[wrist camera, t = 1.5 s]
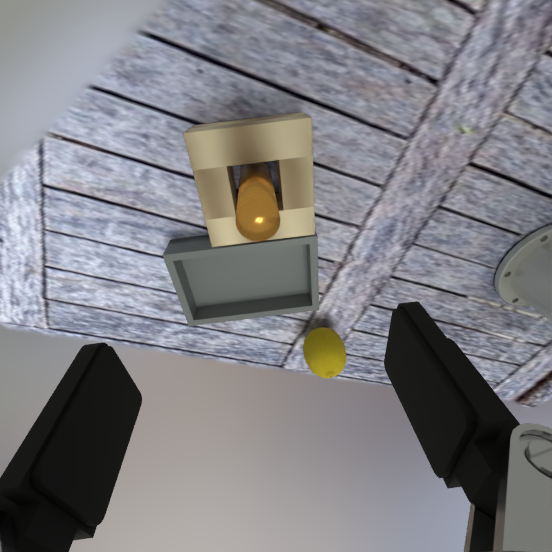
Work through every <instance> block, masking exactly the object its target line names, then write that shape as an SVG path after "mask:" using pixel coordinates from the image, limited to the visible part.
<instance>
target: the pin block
mask: <svg viewBox="0 0 552 552" xmlns="http://www.w3.org/2000/svg"><path fill="white" fill-rule="evenodd" d="M183 134H184V138H185V142H186V146H187V150H188V154H189V158H190V162H191V166H192V170H193V174H194V178H195V181H196V185H197V189H198V193H199V197H200V201H201V205H202V209H203V213H204V217H205V221H206V225H207V229H208V233H209V237H210V241H211V244H212V247H217V246H225V245H233V244H241V243H249V242H257V241H251V240H248V239H246V238H245V237H243V236H242V235H241V234H240V232H239V231H238V229H237V227H236V222H235V221H236V210H237V201H238V196H237V190H236V185H235V179H234V174H233V168H232V166H233V165H242V164H250V163H258V162H266V161H274V160H276V164H277V175H278V185H279V193H275V196H276V201H277V205H278V210H279V214H280V226H279V229H278V231H277V232H276V234H275V235H274V236H273V237H271V238H270V239H268V240H273V239H281V238H290V237H298V236H306V235H314V234H315V219H314V183H313V147H312V117H310V116H308V115H306V114H305V113H303V112H299V113H290V114H282V115H274V116H266V117H258V118H250V119H241V120H233V121H225V122H217V123H209V124H200V125H194V126H192V127H191V128H190V129H188V130H187V131H186V132H184V133H183Z"/></svg>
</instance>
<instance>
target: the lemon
mask: <svg viewBox="0 0 552 552" xmlns="http://www.w3.org/2000/svg"><path fill="white" fill-rule="evenodd" d="M303 351H304V357H305V360H306V363H307V364H308V366H309V368H310V370H311V371H312V372H313V373H314V374H316V375H317V376H319V377H323V378H332V377H335V376H337V375H338V374H339V373H340V372H341V371H342V370H343V368H344V366H345V363H346V351H345V346H344V343H343V341H342V339H341V338H340V336H339V335H338V334H337V333H336V332H335V331H333V330H331V329H329V328H325V327H320V328H316V329H314V330H312V331H311V332H310V333H309V334H308V335H307V337H306V338H305V341H304V345H303Z"/></svg>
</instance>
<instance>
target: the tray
mask: <svg viewBox="0 0 552 552" xmlns="http://www.w3.org/2000/svg"><path fill="white" fill-rule="evenodd" d="M163 257H164V260H165V263H166V265H167V268H168V271H169V274H170V276H171V279H172V282H173V284H174V287H175V290H176V293H177V295H178V298H179V301H180V303H181V306H182V309H183V312H184V314H185V317H186V320H187V322H188V325H189V326H194V325H202V324H210V323H218V322H226V321H234V320H242V319H250V318H258V317H266V316H274V315H282V314H290V313H298V312H306V311H314V310H319V288H318V244H317V234H316V232H315V234H314V235H306V236H298V237H290V238H281V239H273V240H265V241H259V242H249V243H241V244H233V245H225V246H217V247H212V244H211V241H210V237H209V235H206V236H198V237H190V238H182V239H174V240H170V242H169V244H168V246H167V248H166V250H165V252H164V254H163Z"/></svg>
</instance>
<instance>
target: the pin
mask: <svg viewBox="0 0 552 552" xmlns="http://www.w3.org/2000/svg"><path fill="white" fill-rule="evenodd" d="M235 222H236V227H237V229H238V231H239V232H240V234H241V235H242V236H243V237H245V238H246V239H248V240H251V241H257V242H259V241H265V240H268V239H270V238H271V237H273V236H274V235H275V234H276V232H277V231H278V229H279V226H280V214H279V210H278V205H277V201H276V196H275V191H274V187H273V182H272V177H271V173H270V169H269V167H268V165H267V164H266V163H265V162H258V163H250V164H244V165H243V166H242V169H241V175H240V184H239V193H238V201H237V210H236V221H235Z"/></svg>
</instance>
